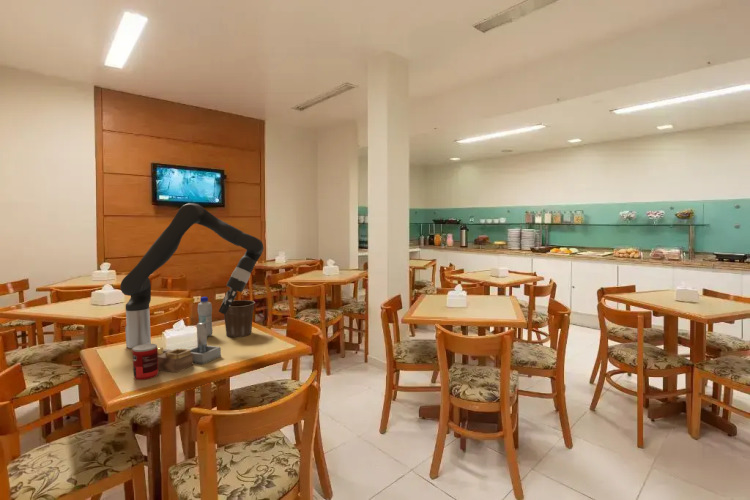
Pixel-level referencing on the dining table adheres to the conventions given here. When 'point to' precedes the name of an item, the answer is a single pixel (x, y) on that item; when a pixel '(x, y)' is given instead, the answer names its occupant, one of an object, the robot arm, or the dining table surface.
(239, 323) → the plant pot
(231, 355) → the dining table surface
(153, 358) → the canned food
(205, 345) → the rod
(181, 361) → the socket block
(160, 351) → the release plunger
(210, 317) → the bottle
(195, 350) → the tray
